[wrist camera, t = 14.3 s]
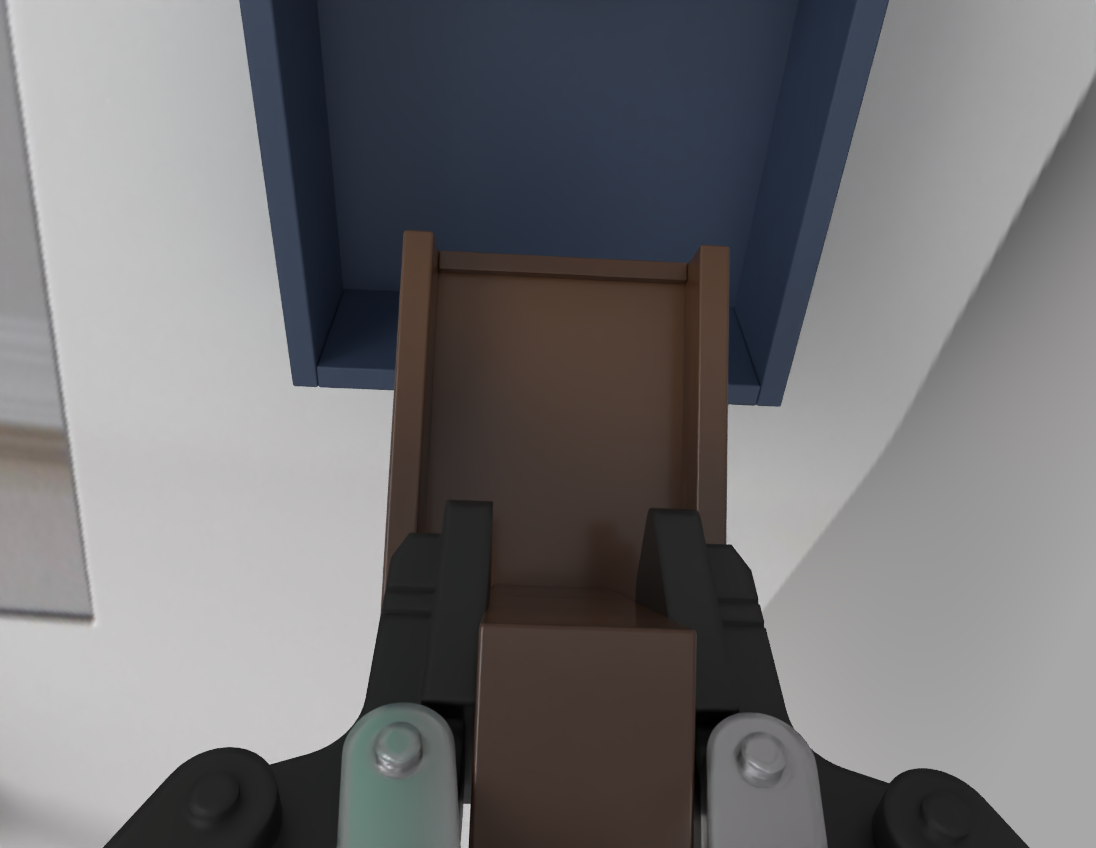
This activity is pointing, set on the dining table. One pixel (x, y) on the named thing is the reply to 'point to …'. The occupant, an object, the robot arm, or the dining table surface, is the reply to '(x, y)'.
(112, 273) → the dining table surface
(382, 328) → the tote
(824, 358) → the dining table surface
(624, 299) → the scoop
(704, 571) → the robot arm
